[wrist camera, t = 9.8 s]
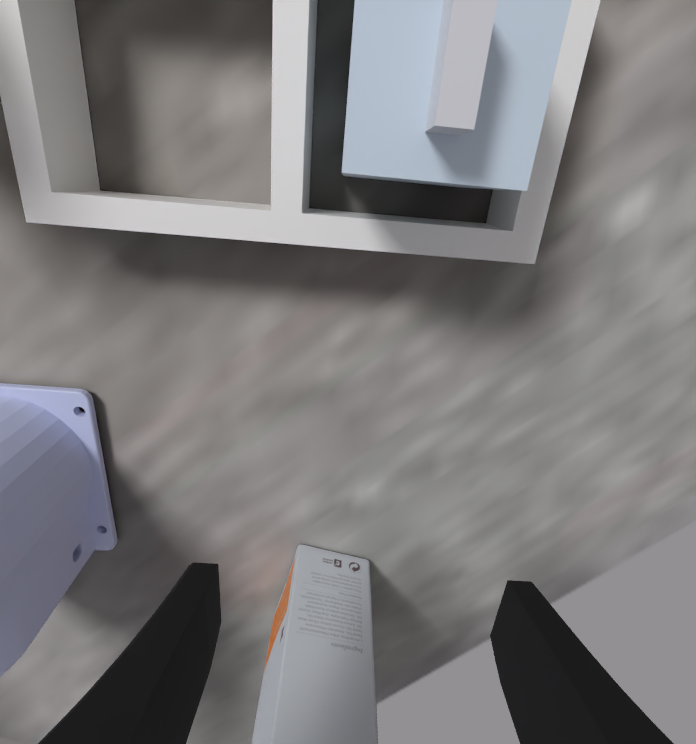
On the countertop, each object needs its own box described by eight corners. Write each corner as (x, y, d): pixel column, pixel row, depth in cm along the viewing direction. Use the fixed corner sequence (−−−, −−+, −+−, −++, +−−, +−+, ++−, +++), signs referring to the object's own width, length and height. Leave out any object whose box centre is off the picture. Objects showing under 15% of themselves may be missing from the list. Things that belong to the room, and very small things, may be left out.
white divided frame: (505, 251, 18) (534, 264, 15) (77, 215, 17) (26, 222, 14) (573, -59, 14) (629, -120, 11) (24, -119, 13) (-61, -199, 10)
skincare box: (296, 540, 24) (253, 847, 13) (370, 557, 24) (390, 866, 13) (271, 613, 26) (216, 927, 15) (339, 628, 27) (334, 940, 16)
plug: (457, 187, 17) (548, 192, 9) (343, 176, 17) (340, 172, 9) (482, 49, 15) (619, -87, 7) (354, 35, 15) (362, -118, 7)
